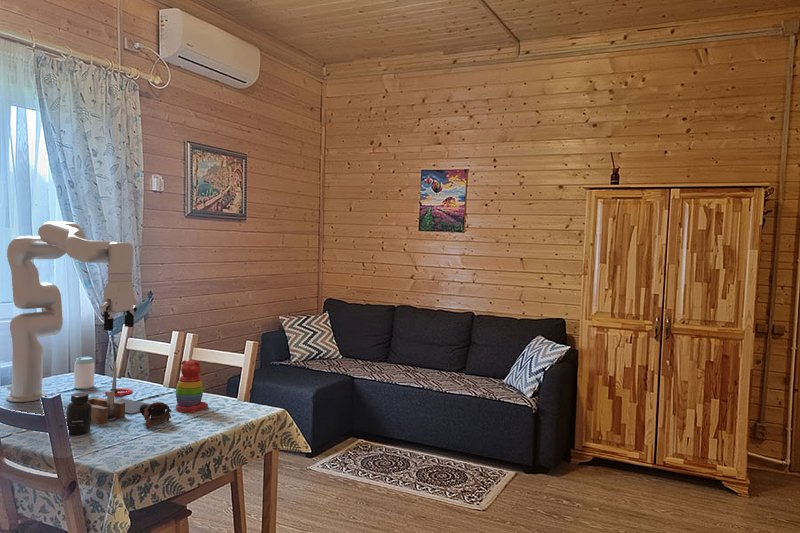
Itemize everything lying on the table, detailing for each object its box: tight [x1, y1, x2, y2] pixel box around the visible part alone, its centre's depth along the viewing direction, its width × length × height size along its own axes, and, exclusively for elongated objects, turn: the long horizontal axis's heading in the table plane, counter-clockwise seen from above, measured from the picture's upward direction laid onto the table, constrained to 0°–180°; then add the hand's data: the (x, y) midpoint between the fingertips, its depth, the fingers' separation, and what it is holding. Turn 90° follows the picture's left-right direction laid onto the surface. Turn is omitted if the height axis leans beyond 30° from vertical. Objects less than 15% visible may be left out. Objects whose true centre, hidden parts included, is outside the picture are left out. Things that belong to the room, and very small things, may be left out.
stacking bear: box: [175, 360, 209, 413], centre depth 214 cm, size 11×10×18 cm
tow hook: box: [104, 361, 133, 397], centre depth 231 cm, size 8×13×9 cm
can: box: [73, 356, 95, 390], centre depth 236 cm, size 7×7×12 cm
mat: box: [115, 398, 154, 416], centre depth 213 cm, size 17×12×1 cm
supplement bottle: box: [65, 392, 92, 437], centre depth 184 cm, size 7×7×12 cm
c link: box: [88, 396, 126, 425], centre depth 200 cm, size 14×9×5 cm, turn 68°
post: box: [106, 390, 118, 422], centre depth 197 cm, size 4×4×10 cm
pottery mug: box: [139, 401, 173, 429], centre depth 195 cm, size 12×10×8 cm
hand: (119, 328), depth 200 cm, fingers open, 9 cm apart
